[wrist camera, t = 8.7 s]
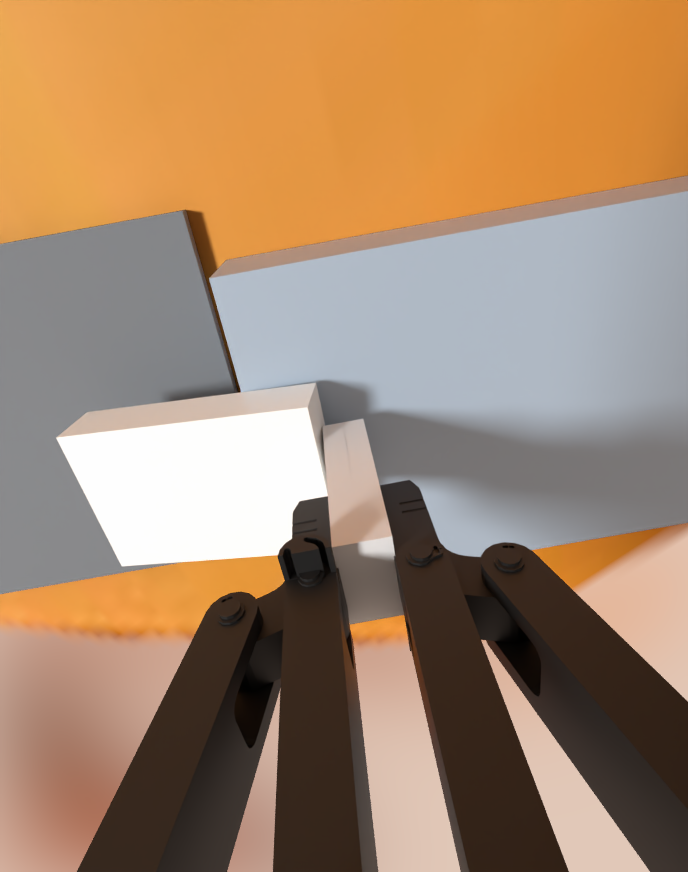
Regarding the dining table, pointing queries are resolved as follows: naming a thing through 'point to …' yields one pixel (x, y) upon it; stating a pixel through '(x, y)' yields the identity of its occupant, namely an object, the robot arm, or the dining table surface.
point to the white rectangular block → (200, 473)
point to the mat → (90, 374)
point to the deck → (495, 359)
